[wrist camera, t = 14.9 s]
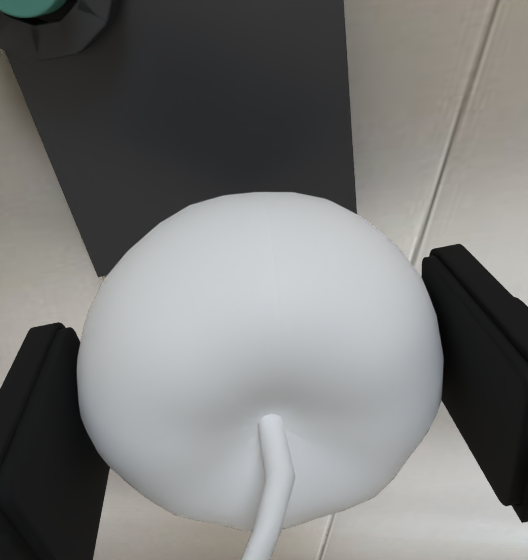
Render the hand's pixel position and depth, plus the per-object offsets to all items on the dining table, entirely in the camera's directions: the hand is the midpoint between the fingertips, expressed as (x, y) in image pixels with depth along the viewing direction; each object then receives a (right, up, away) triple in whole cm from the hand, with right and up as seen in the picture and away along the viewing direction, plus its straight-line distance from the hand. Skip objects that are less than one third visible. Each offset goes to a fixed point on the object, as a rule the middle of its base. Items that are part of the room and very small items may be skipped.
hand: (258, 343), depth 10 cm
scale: (-3, +10, +12) cm, 17 cm away
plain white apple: (0, +2, +3) cm, 3 cm away
